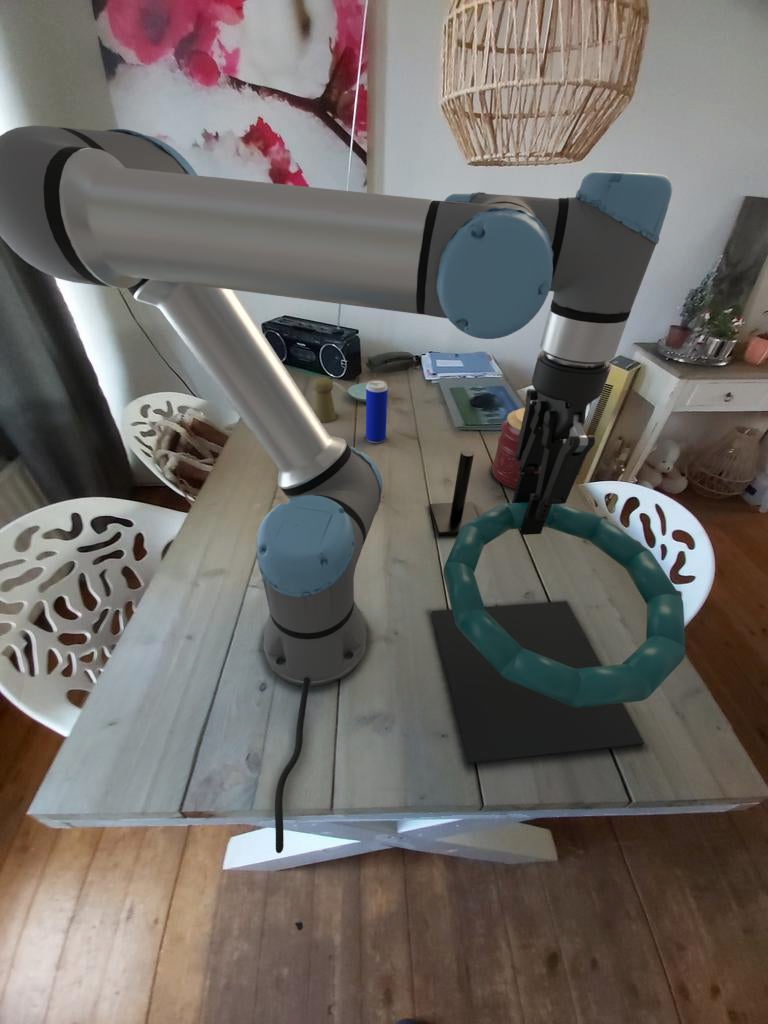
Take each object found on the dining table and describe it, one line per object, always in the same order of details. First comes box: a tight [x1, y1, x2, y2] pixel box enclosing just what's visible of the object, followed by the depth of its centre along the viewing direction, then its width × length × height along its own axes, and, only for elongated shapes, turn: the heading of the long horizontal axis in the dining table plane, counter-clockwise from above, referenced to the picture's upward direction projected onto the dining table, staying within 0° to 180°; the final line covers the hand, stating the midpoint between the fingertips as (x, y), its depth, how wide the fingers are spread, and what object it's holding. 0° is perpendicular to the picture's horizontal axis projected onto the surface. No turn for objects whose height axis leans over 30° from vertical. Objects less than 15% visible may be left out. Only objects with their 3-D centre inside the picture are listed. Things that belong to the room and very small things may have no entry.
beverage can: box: [365, 379, 389, 444], centre depth 110 cm, size 5×5×15 cm
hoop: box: [442, 502, 686, 708], centre depth 53 cm, size 27×27×4 cm
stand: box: [429, 449, 479, 538], centre depth 85 cm, size 9×9×16 cm
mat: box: [431, 600, 645, 765], centre depth 64 cm, size 23×23×1 cm
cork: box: [312, 376, 337, 423], centre depth 120 cm, size 6×6×11 cm
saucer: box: [347, 382, 368, 403], centre depth 133 cm, size 12×12×2 cm
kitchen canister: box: [491, 407, 540, 490], centre depth 98 cm, size 13×13×18 cm
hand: (524, 522), depth 61 cm, fingers closed on hoop, 3 cm apart
